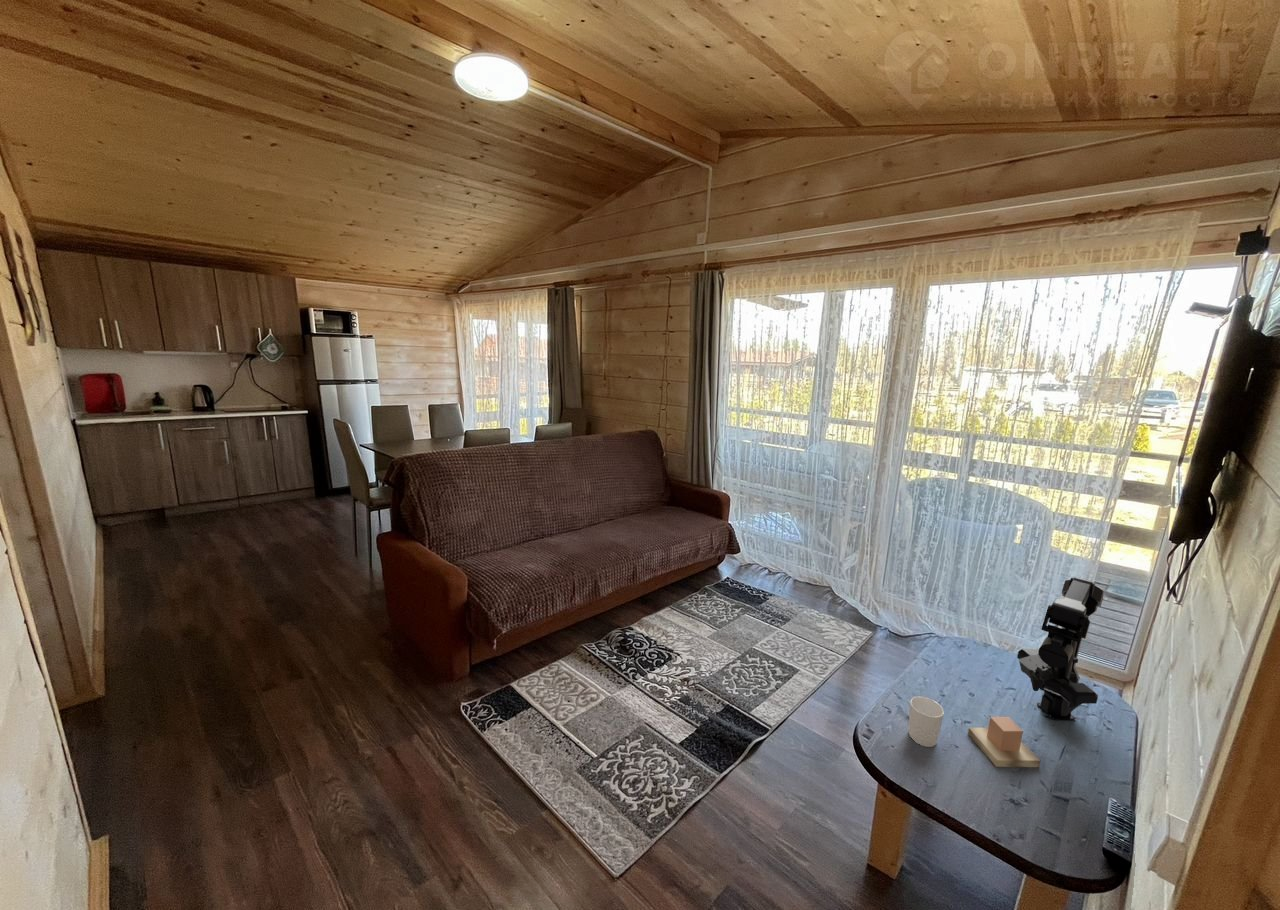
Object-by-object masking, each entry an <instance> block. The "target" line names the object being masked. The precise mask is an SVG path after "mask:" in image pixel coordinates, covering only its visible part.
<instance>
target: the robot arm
mask: <svg viewBox="0 0 1280 910" xmlns="http://www.w3.org/2000/svg"><path fill="white" fill-rule="evenodd" d="M1061 594H1062V597H1063V598H1055V599H1054V601H1053V602H1052V604H1050V603H1049V604H1048V606H1047V608H1046V611H1045V615H1044V619H1043V623H1042V625H1041V630H1042V631H1043V632H1047V636H1046V638H1045V639H1044V640H1043V641H1042V643H1041V644H1040V646H1039V649H1038V648H1021V649H1019V650H1018V651H1017V655H1016V656H1017V657H1016V658H1017V659H1018V662H1019V666H1020V670H1021V672H1022V673H1024V675H1027V677H1028V678H1029V679H1030V683H1031V688H1032V691H1034V692H1038V691H1039V690H1040V691H1043V694H1042V696H1041V701H1040V702H1036V705H1037V706H1038V707H1039V708H1040V709H1041V710H1042V711H1043V712H1044V713H1046V715H1048V716H1049V717H1050V718H1051V719H1052V720H1055V721H1059V720H1060V721H1070V720H1071V721H1075V720H1076V717H1075V716H1074V715H1073V714H1072V712H1074V710H1076V709H1077V708H1078V707H1079V706H1081V705H1083V704H1090V705H1092V704H1093V705H1095V704H1097V702H1098V697H1099V695H1098V694H1097V693H1096V691H1094V690H1093V689H1092V688H1090V687H1089V686H1087V685H1086V684H1085V683H1083V682H1080V679H1081V677H1080V675H1079V673H1078V670H1077V668H1076V665H1077V664H1078V662H1079V659H1078V656H1079V653H1080V652H1079V651H1080V648H1081V643H1082V640H1083V639H1084V640H1085V639H1086V638H1087V634H1088V631H1089V627H1090V625H1091V621H1090V619H1089V617H1091V615H1093V614H1095V613H1096V612H1097V610H1098V607H1102V605H1103V602H1104V601H1103V600H1104V597H1105V596H1104V594H1105V593H1104V590H1102V589H1101V588H1100V587H1098V586H1097V585H1096V583H1095V582H1093V581H1091V580H1087V579H1084V578H1081V577H1076V576H1071V577H1070V579H1065V580H1064V583H1063V587H1062V589H1061ZM1048 623H1049V624H1048Z"/></svg>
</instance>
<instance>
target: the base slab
mask: <svg viewBox="0 0 1280 910" xmlns="http://www.w3.org/2000/svg"><path fill="white" fill-rule="evenodd" d="M987 733H988V727H968V731H967V734H968V736H969V737H970V738H971V739H972V741H973V742H974V743H975V744H976V745H977V747H978V748H980V750H981V751H982V752H983V753H984V755H985V756H987V758H988V760H990V762H991V763H992V764H993V765H994V766H995V767H996V768H1040V765H1041V764H1040V763H1041V760H1040V759H1039V757H1038V756H1037V755H1036V754H1035V753H1034V752H1033V751H1031V749H1030V748H1029V747H1027V744H1025V743H1024V742H1023V741H1022V740H1021V745H1020V750H1019V751H1000V750H999V749H998V748H997V747H996V745H995V744H994V743H993V742H992V741H991V740H990V739H989V738H988V737H987Z"/></svg>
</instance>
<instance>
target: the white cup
mask: <svg viewBox="0 0 1280 910" xmlns="http://www.w3.org/2000/svg"><path fill="white" fill-rule="evenodd" d="M909 704H910V705H909V717H908V720H909V721H908V724H909V725H908V735H909V738H910V737H911V738H912V739H913V740H914V741H915V742H914V741H913V740H912V739H911V738H910V739H911V740H912V741H913V742H914V743H916V744H918V745H919V744H920V745H919V746H922V747H925V748H933V747H935V746H936V745H937V742H938V738H939V735H940V732H941V727H942V723H943V719H944V714H945V712H944V711H945V710H944V708H943V707H942V706H941V705H940V703H938V702H936V701H935V700H933V699H931V698H928V697H925V696H914V697H912V698H911V699H910V703H909Z"/></svg>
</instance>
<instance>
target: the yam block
mask: <svg viewBox="0 0 1280 910" xmlns="http://www.w3.org/2000/svg"><path fill="white" fill-rule="evenodd" d="M987 728H988V733H987V737H988V738H989V739H990V740H991V741H992V742H993V743H994V744H995V745H996V747H997V748H998V749H999V750H1000V751H1019V750H1020V745H1021V741H1022V740H1023V734H1024V730H1023V729H1021V728H1020V727H1019V725H1018V724H1017V723H1016V722H1014V720H1013V719H1011V717H1009V716H990V717H989V722H988V727H987Z"/></svg>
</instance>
